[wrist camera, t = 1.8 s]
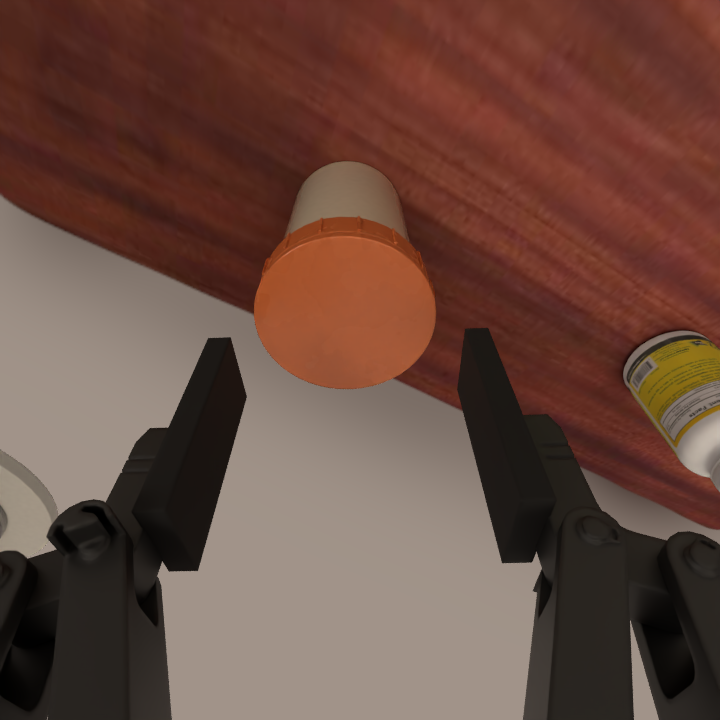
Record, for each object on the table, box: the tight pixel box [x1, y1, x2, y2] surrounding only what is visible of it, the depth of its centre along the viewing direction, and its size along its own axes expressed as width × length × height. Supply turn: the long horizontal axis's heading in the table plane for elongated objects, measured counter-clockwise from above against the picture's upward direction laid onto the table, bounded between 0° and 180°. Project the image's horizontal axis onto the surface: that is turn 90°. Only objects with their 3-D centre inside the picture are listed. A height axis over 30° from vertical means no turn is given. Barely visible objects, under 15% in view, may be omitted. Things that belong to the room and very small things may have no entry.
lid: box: [254, 216, 436, 389], centre depth 19 cm, size 7×7×2 cm
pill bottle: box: [623, 331, 720, 492], centre depth 29 cm, size 6×6×11 cm
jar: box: [284, 161, 410, 243], centre depth 22 cm, size 6×6×11 cm
